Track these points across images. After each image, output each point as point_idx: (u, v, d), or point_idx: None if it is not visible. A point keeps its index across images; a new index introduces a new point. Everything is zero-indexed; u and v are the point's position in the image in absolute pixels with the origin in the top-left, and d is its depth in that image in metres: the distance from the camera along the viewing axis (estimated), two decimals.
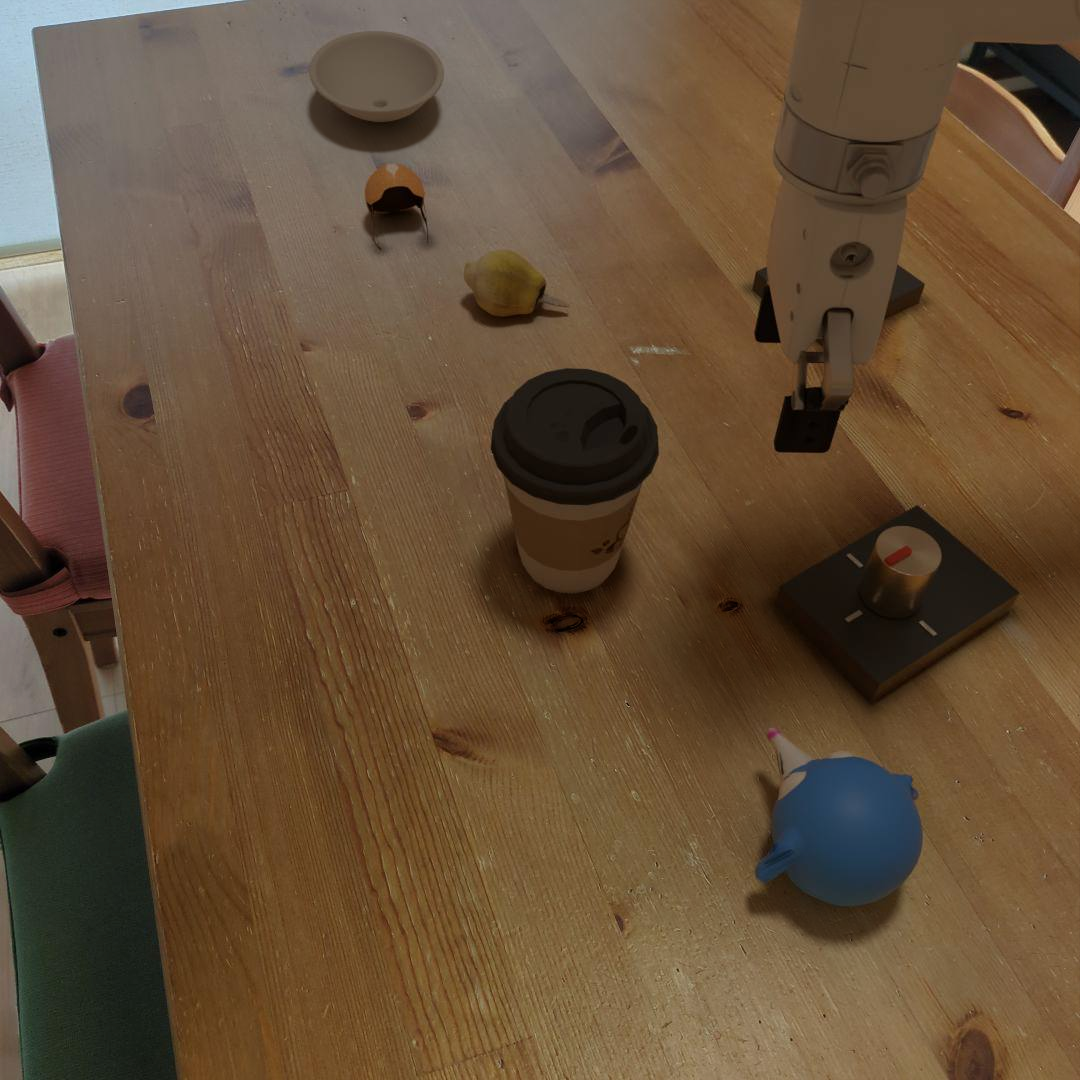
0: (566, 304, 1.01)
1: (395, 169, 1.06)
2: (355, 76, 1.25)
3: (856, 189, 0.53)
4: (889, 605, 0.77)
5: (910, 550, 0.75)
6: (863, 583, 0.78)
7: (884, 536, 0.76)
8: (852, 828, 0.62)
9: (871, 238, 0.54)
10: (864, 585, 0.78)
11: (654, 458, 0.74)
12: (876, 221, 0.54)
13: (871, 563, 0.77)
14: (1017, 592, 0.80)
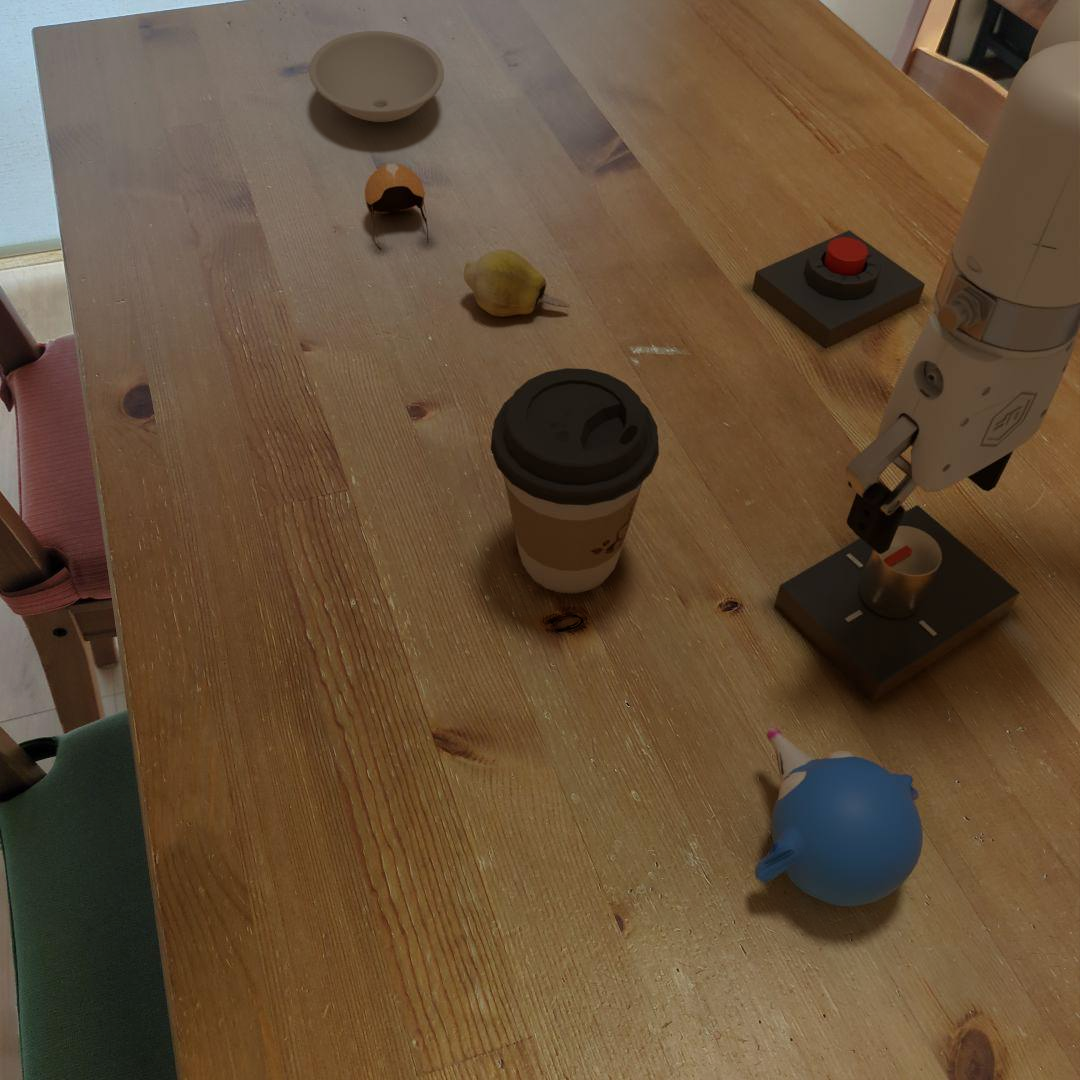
0: (566, 304, 1.01)
1: (395, 169, 1.06)
2: (355, 76, 1.25)
3: None
4: (889, 605, 0.77)
5: (910, 550, 0.75)
6: (863, 583, 0.78)
7: None
8: (852, 828, 0.62)
9: (945, 368, 0.59)
10: (864, 585, 0.78)
11: (654, 458, 0.74)
12: (954, 355, 0.58)
13: (871, 563, 0.77)
14: (1017, 592, 0.80)
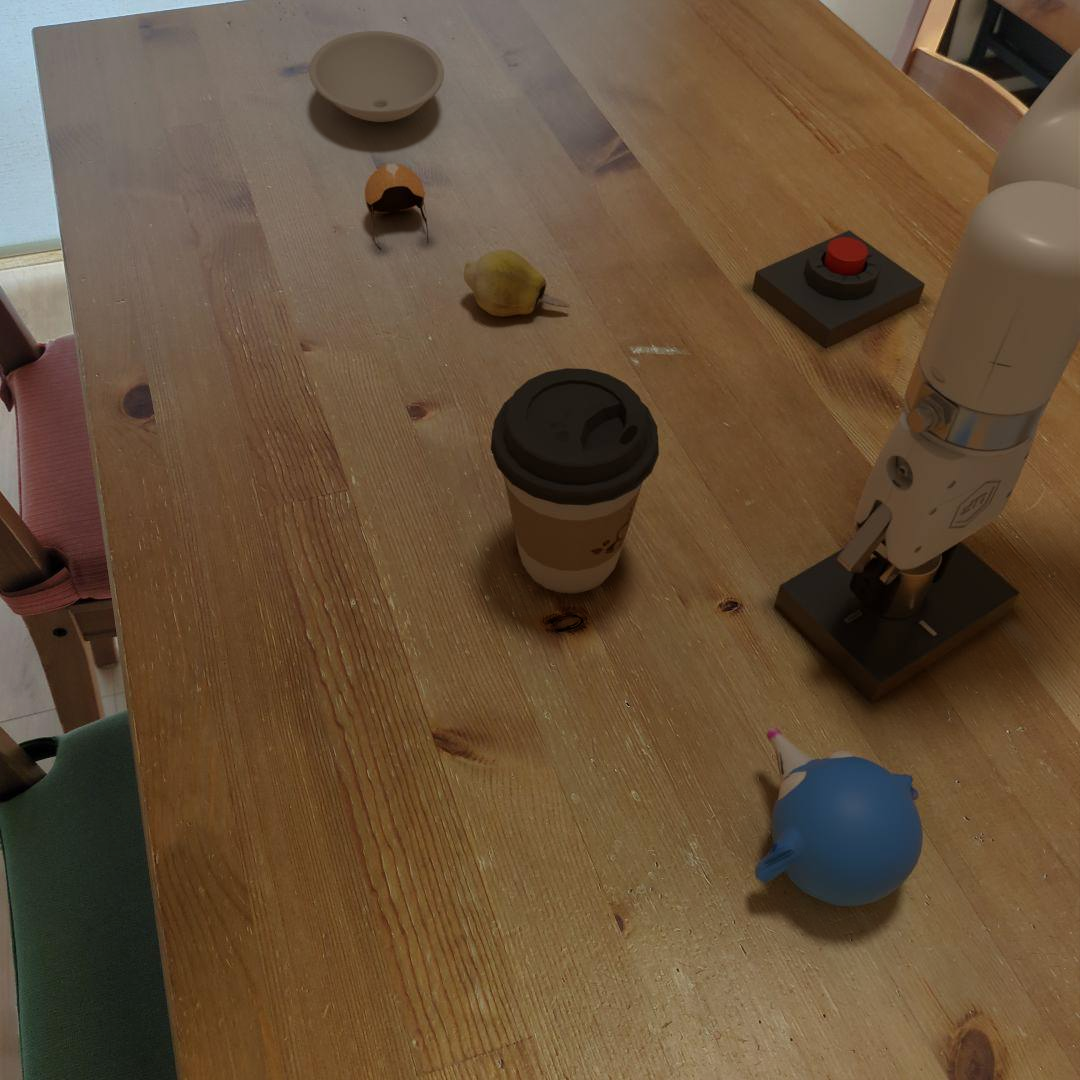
0: (566, 304, 1.01)
1: (395, 169, 1.06)
2: (355, 76, 1.25)
3: None
4: None
5: None
6: None
7: None
8: (852, 828, 0.62)
9: (914, 464, 0.64)
10: None
11: (654, 458, 0.74)
12: (921, 453, 0.64)
13: None
14: (1017, 592, 0.80)
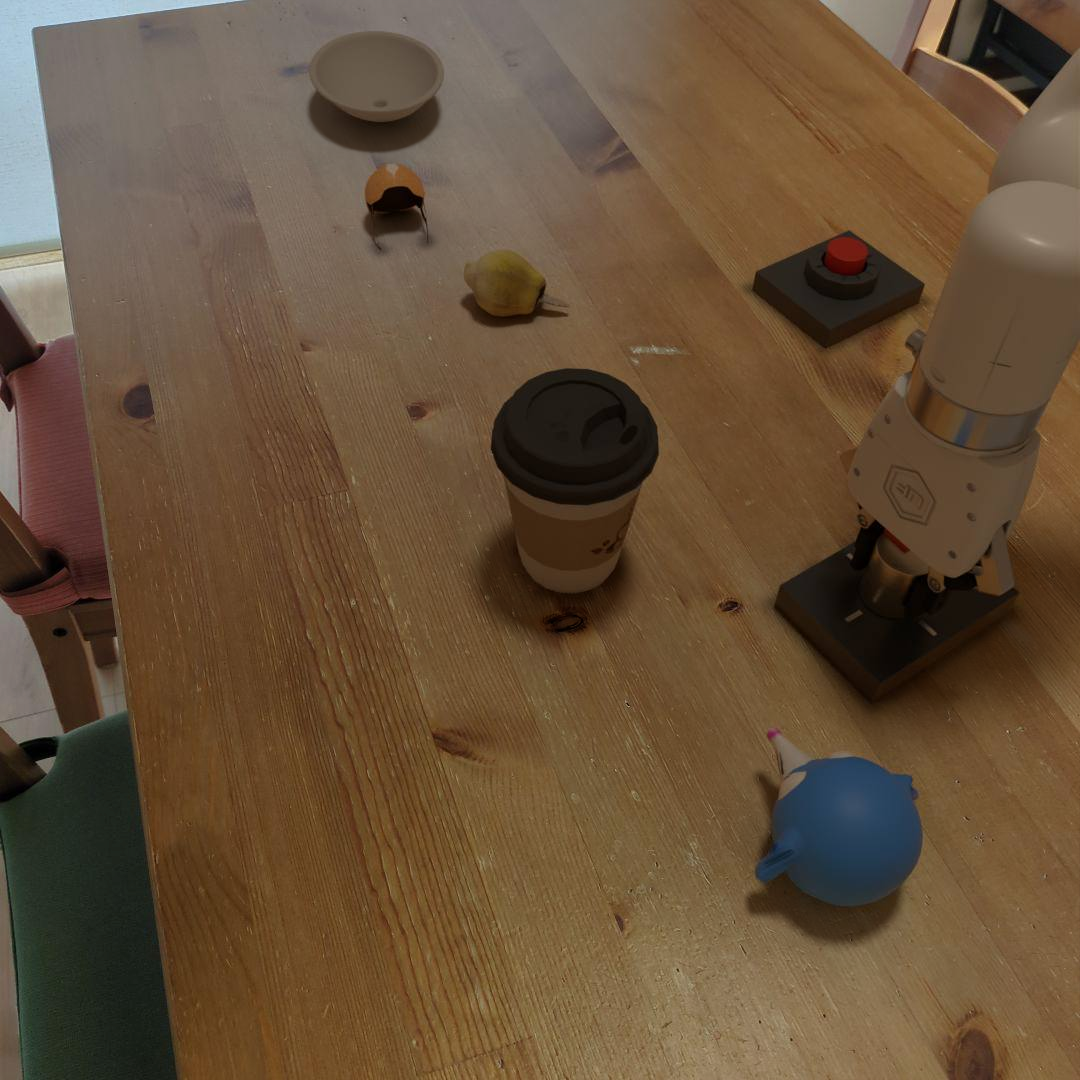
0: (566, 304, 1.01)
1: (395, 169, 1.06)
2: (355, 76, 1.25)
3: None
4: (864, 573, 0.79)
5: None
6: None
7: None
8: (852, 828, 0.62)
9: None
10: None
11: (654, 458, 0.74)
12: None
13: None
14: (1017, 592, 0.80)
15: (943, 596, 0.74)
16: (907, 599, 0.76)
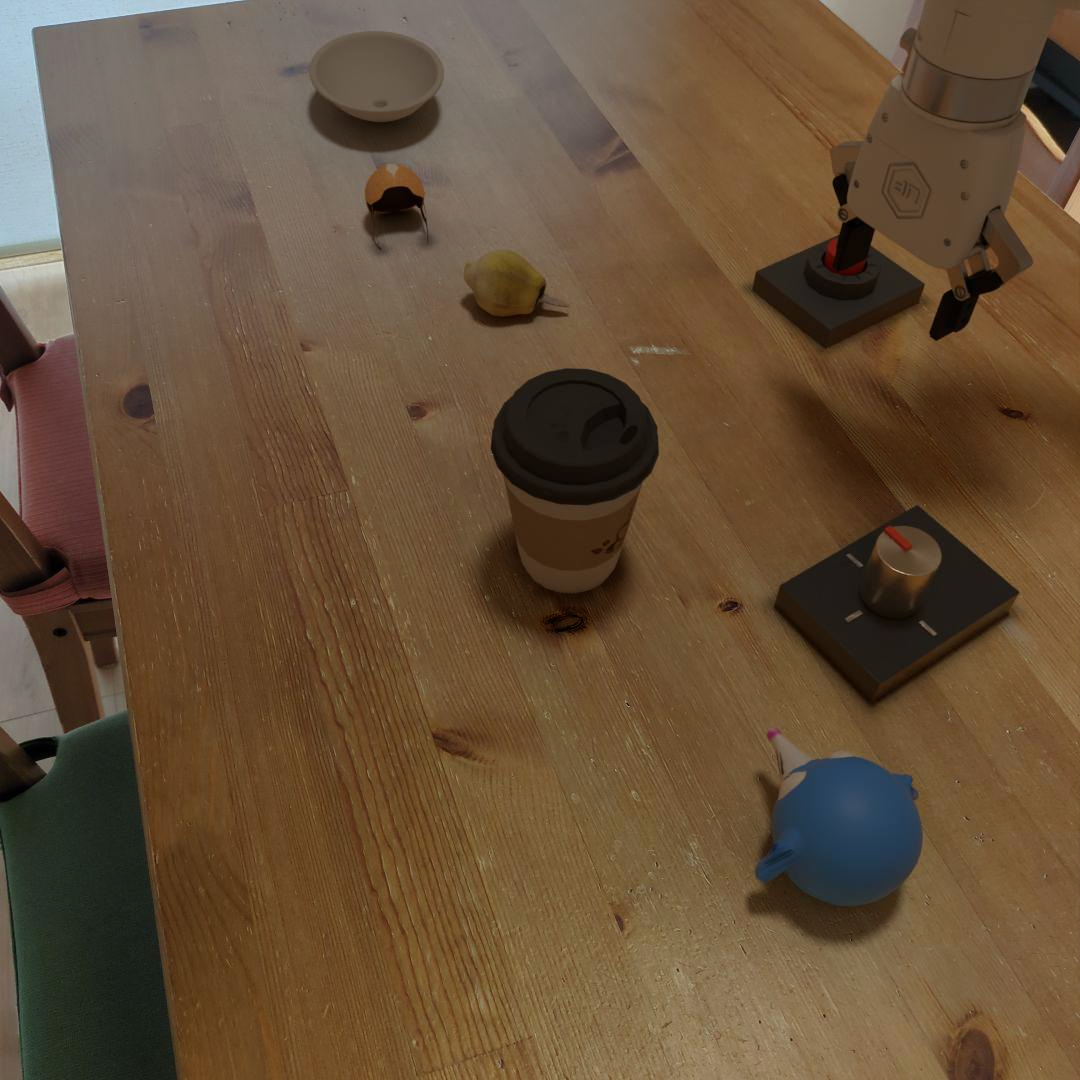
0: (566, 304, 1.01)
1: (395, 169, 1.06)
2: (355, 76, 1.25)
3: None
4: (864, 572, 0.79)
5: (906, 546, 0.75)
6: None
7: (922, 534, 0.76)
8: (852, 828, 0.62)
9: None
10: None
11: (654, 458, 0.74)
12: None
13: None
14: (1017, 592, 0.80)
15: (967, 309, 0.78)
16: (907, 600, 0.76)
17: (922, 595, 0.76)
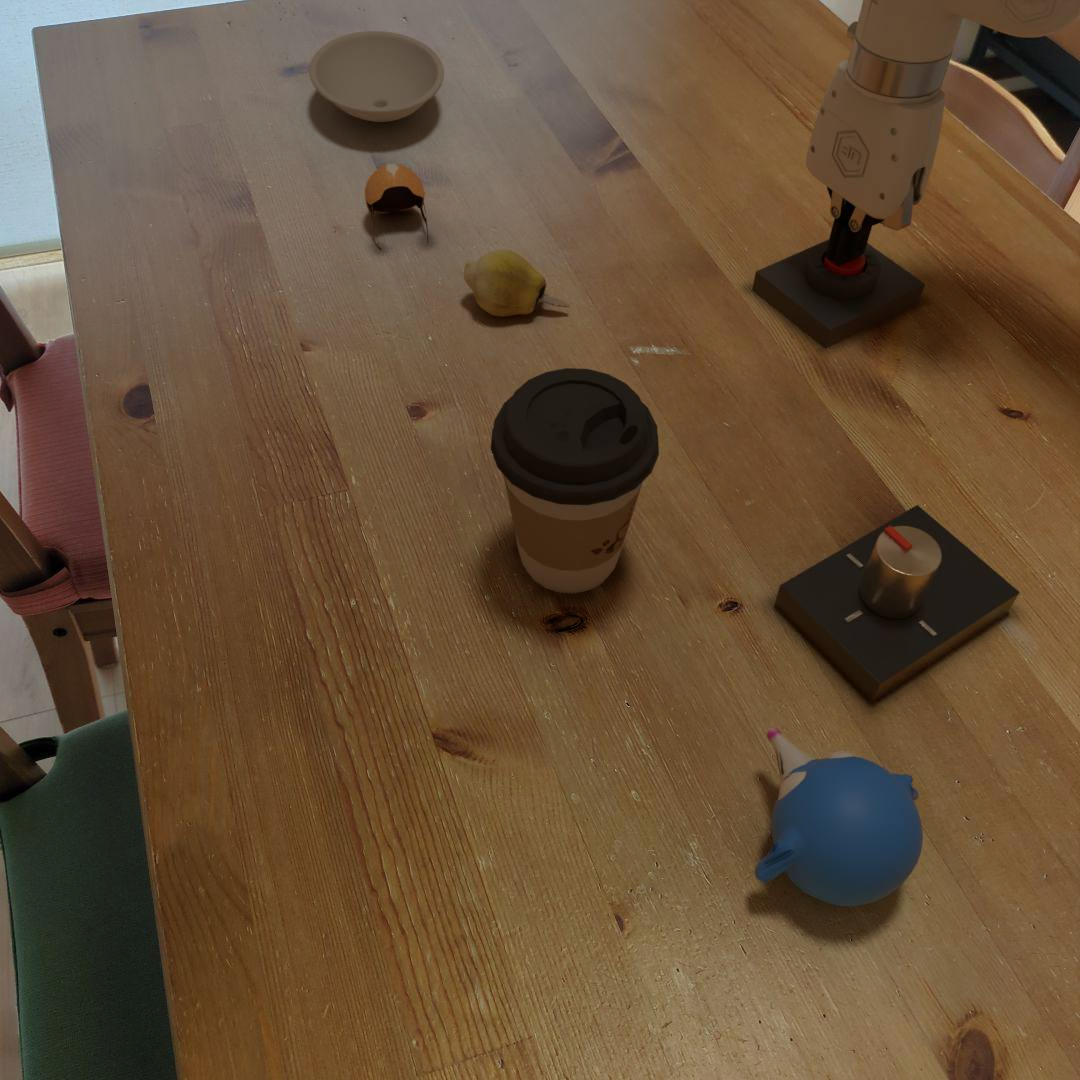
0: (566, 304, 1.01)
1: (395, 169, 1.06)
2: (355, 76, 1.25)
3: None
4: (864, 572, 0.79)
5: (906, 546, 0.75)
6: None
7: (922, 534, 0.76)
8: (852, 828, 0.62)
9: None
10: None
11: (654, 458, 0.74)
12: None
13: None
14: (1017, 592, 0.80)
15: (861, 240, 0.99)
16: (907, 600, 0.76)
17: (922, 595, 0.76)
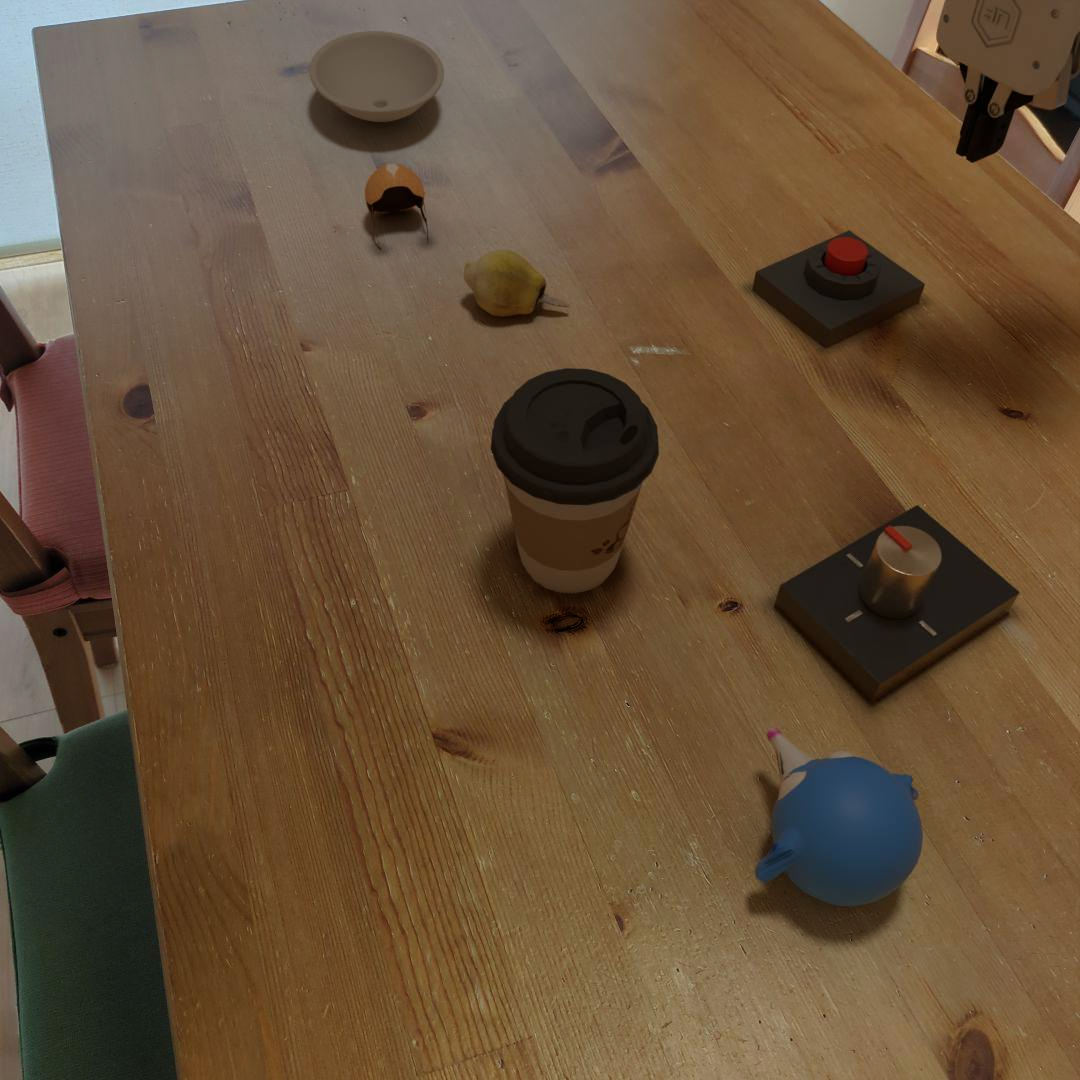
0: (566, 304, 1.01)
1: (395, 169, 1.06)
2: (355, 76, 1.25)
3: None
4: (864, 572, 0.79)
5: (906, 546, 0.75)
6: None
7: (922, 534, 0.76)
8: (852, 828, 0.62)
9: None
10: None
11: (654, 458, 0.74)
12: None
13: None
14: (1017, 592, 0.80)
15: (1001, 129, 0.84)
16: (907, 600, 0.76)
17: (922, 595, 0.76)
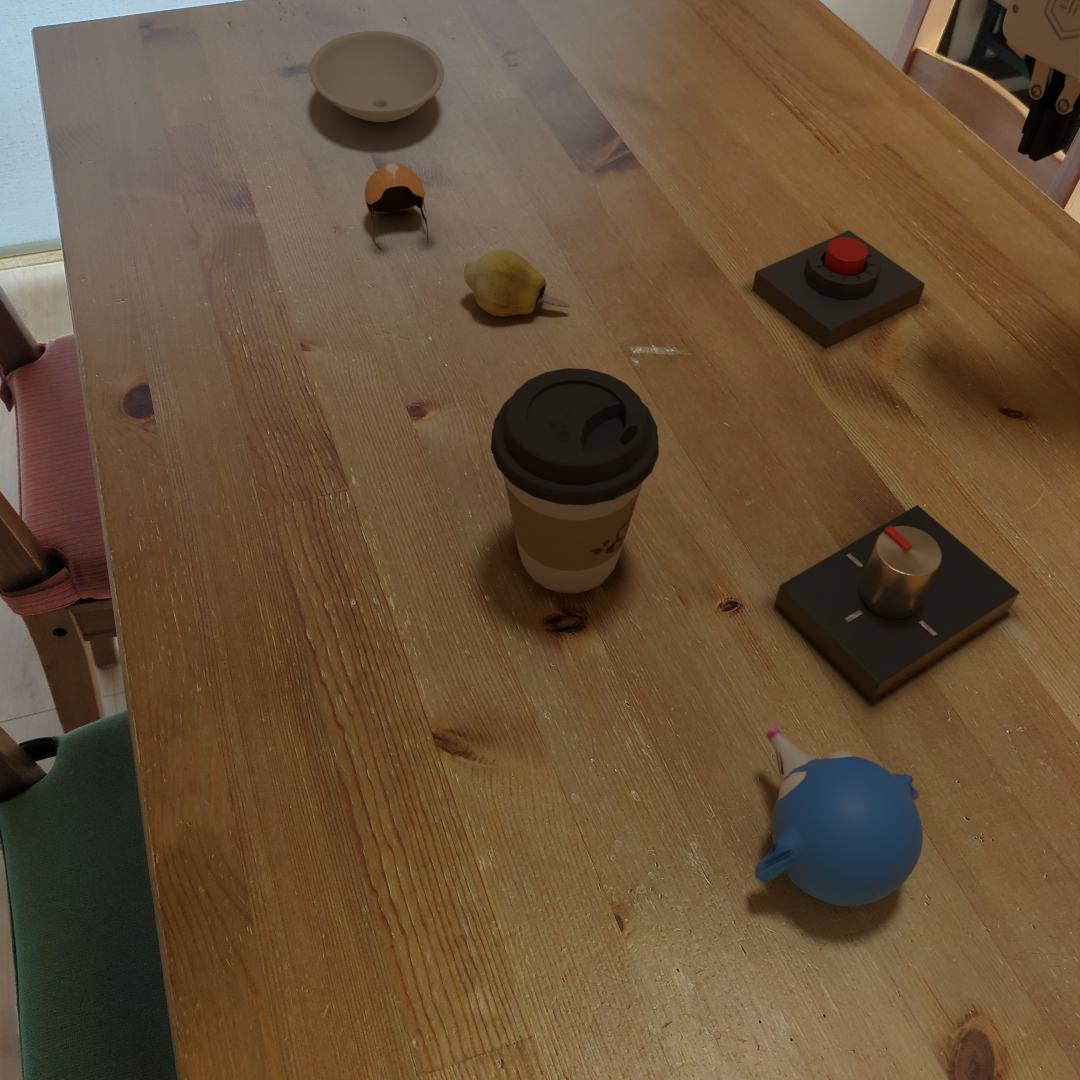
0: (566, 304, 1.01)
1: (395, 169, 1.06)
2: (355, 76, 1.25)
3: None
4: (864, 572, 0.79)
5: (906, 546, 0.75)
6: None
7: (922, 534, 0.76)
8: (852, 828, 0.62)
9: None
10: None
11: (654, 458, 0.74)
12: None
13: None
14: (1017, 592, 0.80)
15: (1068, 127, 0.80)
16: (907, 600, 0.76)
17: (922, 595, 0.76)
